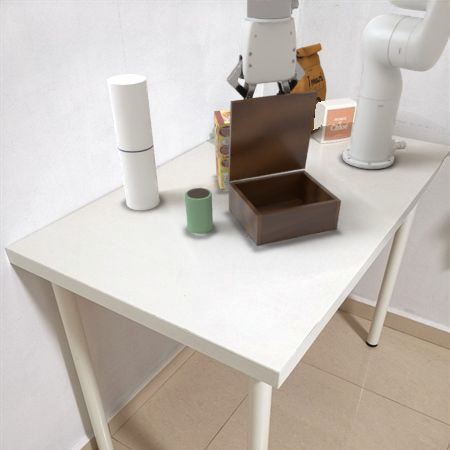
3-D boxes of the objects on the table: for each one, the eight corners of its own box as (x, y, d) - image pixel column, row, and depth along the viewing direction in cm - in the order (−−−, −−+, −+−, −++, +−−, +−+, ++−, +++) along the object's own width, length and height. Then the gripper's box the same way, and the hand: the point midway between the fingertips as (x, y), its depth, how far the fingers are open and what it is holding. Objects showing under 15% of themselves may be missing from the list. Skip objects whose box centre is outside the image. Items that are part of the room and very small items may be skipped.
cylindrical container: (126, 211, 99) (106, 85, 84) (126, 196, 105) (107, 75, 89) (160, 208, 100) (146, 83, 84) (158, 193, 106) (145, 73, 90)
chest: (336, 232, 91) (341, 200, 87) (256, 249, 87) (257, 216, 83) (301, 200, 102) (304, 169, 98) (228, 213, 98) (228, 182, 94)
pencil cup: (208, 222, 95) (206, 185, 90) (216, 234, 92) (215, 196, 87) (184, 227, 94) (181, 189, 89) (191, 239, 90) (189, 201, 85)
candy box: (238, 191, 106) (238, 122, 96) (219, 193, 106) (217, 123, 96) (232, 175, 113) (232, 109, 103) (214, 176, 112) (213, 110, 103)
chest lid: (317, 91, 86) (305, 81, 90) (232, 102, 82) (222, 91, 85) (305, 168, 97) (294, 157, 101) (229, 181, 93) (220, 169, 96)
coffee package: (327, 129, 136) (338, 44, 122) (299, 140, 130) (307, 52, 116) (301, 121, 142) (308, 39, 128) (273, 131, 135) (277, 46, 122)
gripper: (304, 3, 84) (296, 108, 96) (213, 9, 80) (216, 118, 91) (325, 9, 79) (313, 119, 90) (228, 15, 74) (229, 130, 86)
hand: (264, 117), depth 91 cm, fingers closed on chest lid, 5 cm apart
